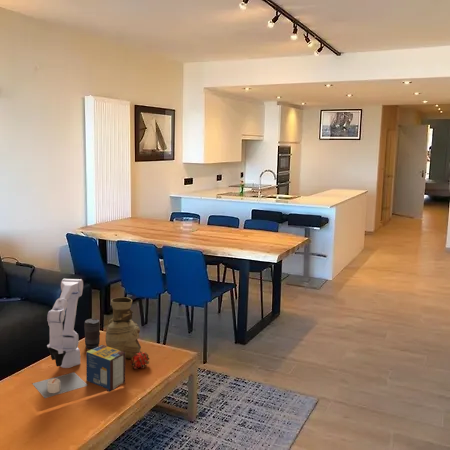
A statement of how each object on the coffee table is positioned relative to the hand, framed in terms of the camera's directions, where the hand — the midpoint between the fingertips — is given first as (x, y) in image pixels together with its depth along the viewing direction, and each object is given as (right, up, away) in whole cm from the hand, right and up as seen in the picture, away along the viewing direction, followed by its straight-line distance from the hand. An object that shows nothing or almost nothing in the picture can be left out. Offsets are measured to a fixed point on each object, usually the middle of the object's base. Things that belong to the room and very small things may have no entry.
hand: (56, 362), depth 229 cm
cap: (+2, -10, -8) cm, 13 cm away
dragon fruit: (+35, -8, +20) cm, 41 cm away
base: (+3, -10, -3) cm, 11 cm away
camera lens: (+5, -3, +41) cm, 41 cm away
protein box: (+22, -10, +2) cm, 25 cm away
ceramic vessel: (+24, -5, +35) cm, 42 cm away
